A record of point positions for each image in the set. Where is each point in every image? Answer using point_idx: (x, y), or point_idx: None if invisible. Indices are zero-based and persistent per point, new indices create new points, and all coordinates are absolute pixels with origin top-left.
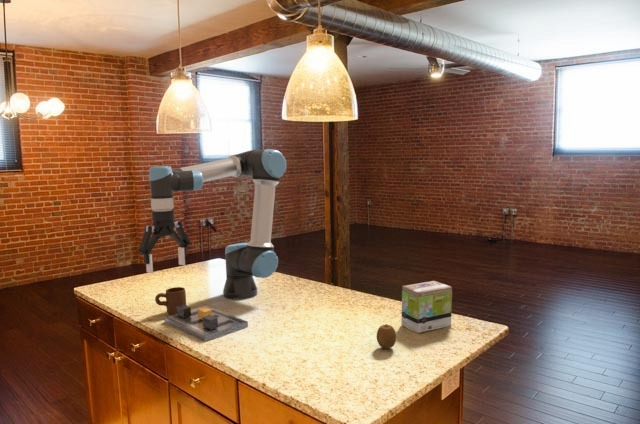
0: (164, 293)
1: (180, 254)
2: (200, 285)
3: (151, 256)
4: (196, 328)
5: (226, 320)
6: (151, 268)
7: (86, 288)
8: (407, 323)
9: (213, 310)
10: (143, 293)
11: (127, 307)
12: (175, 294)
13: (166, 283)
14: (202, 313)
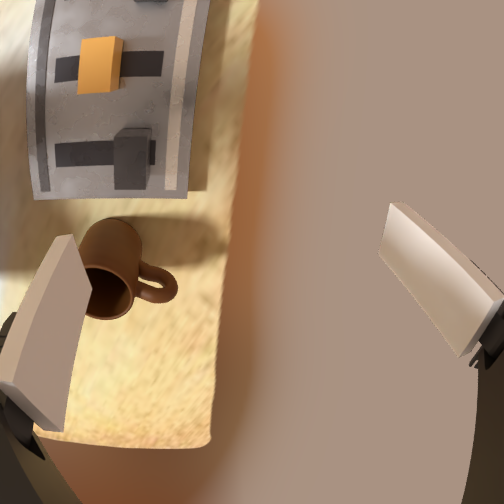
0: (142, 295)
1: (57, 339)
2: None
3: (485, 286)
4: (189, 7)
5: (72, 4)
6: (421, 221)
7: (196, 443)
8: None
9: (37, 130)
10: (127, 395)
11: (193, 354)
12: (113, 262)
13: (71, 406)
14: (115, 54)
